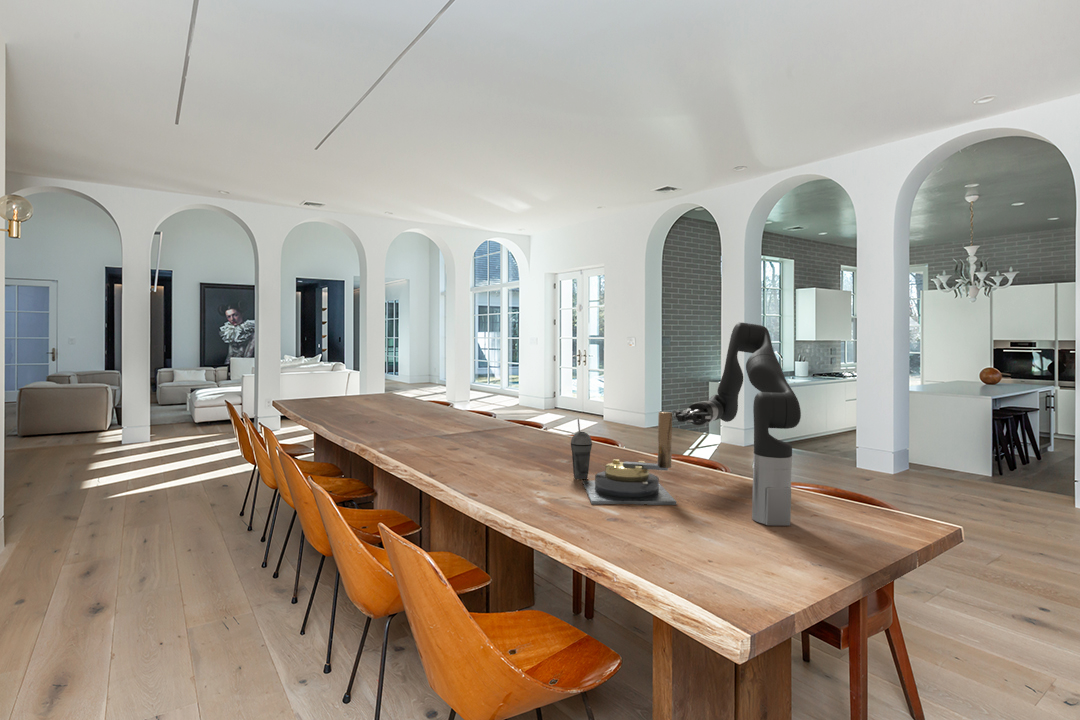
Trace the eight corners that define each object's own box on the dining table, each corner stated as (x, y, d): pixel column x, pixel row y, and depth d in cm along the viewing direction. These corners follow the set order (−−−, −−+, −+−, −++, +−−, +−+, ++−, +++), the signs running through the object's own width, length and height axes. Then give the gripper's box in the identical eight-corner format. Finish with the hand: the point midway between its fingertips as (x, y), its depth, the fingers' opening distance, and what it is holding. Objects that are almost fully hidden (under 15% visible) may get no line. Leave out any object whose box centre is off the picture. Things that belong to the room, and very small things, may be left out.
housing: (676, 504, 166) (676, 486, 166) (591, 504, 165) (591, 485, 165) (657, 484, 190) (657, 467, 190) (582, 483, 189) (583, 467, 189)
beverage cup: (592, 481, 193) (593, 420, 192) (570, 480, 193) (571, 419, 192) (590, 476, 200) (592, 417, 199) (569, 475, 200) (570, 417, 199)
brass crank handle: (601, 479, 173) (602, 412, 172) (608, 470, 185) (610, 407, 185) (669, 484, 168) (671, 415, 167) (672, 475, 180) (673, 410, 179)
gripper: (684, 399, 199) (660, 404, 186) (722, 403, 191) (700, 408, 178) (683, 421, 200) (660, 428, 186) (722, 426, 191) (700, 433, 178)
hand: (680, 418), depth 182 cm, fingers closed
